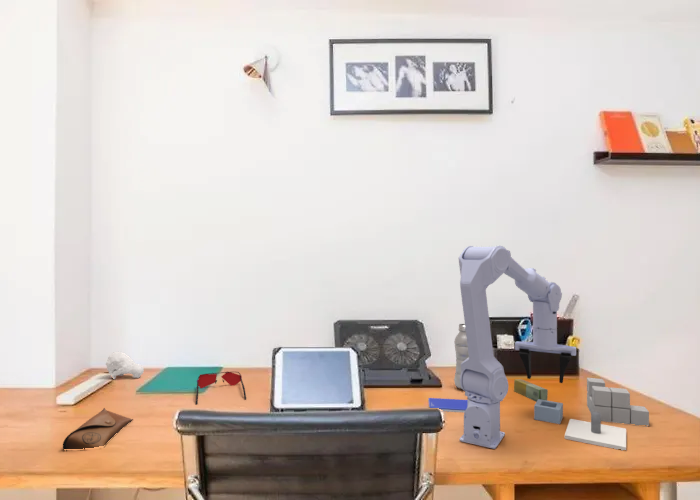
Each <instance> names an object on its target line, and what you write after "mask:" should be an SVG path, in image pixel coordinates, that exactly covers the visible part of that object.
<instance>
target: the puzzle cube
mask: <svg viewBox="0 0 700 500" xmlns="http://www.w3.org/2000/svg"><path fill="white" fill-rule="evenodd" d="M586 391H587V392H586V406H587V408H588V410H589V413H590V414H591V412H593V411H594V412H599V413H601V422H606V423H613V424H622V423H624V424H623V425H631V424H635V425H634V426H639V425H646V426H645V427H648V426H649V427H650V411H649V409H647V408H646V407H645V406H640V405H631V393H630V392H629V391H628V389H627V388H620V387H619V388H618V387H609V386H606V382H605V380H604V379H603V378H594V377H586ZM647 425H648V426H647Z"/></svg>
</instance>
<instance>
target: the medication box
mask: <svg viewBox="0 0 700 500" xmlns="http://www.w3.org/2000/svg"><path fill="white" fill-rule="evenodd" d="M548 391H549V390H548V389H547V388H544V387H541V386H539V385H537V384H534V383H533V382H531V381H530V382H529V381H527V380H525V379H522V378H518V379H517V378H515V379H514V380H513V392H514V393H517V394H519V395H520V396H522V397H525V398H528V399H529V400H531V401H534V402H535V403H536V402H537V400H538V399H540V400H546V401H548V393H549V392H548Z"/></svg>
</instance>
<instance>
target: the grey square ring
mask: <svg viewBox="0 0 700 500" xmlns="http://www.w3.org/2000/svg"><path fill="white" fill-rule="evenodd" d="M533 407H534V408H533V414H534V415H533V419H534V420H536V421H540V422H546V423H551V424H552V423H553V424H557V425H561V422H562V420H563V418H564V403H563V402H559V401H557V402H556V401H552V400H547V401H546V400H540V399H538V400H537V402H535V404H534V406H533Z"/></svg>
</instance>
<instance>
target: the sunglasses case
mask: <svg viewBox="0 0 700 500" xmlns="http://www.w3.org/2000/svg"><path fill="white" fill-rule="evenodd" d="M132 420H133V421H134V419H133V418H130V417H127V416H123V415H121V414H118V413H116V412H112V411H110V410H107V409H106V408H105V407H104V408H103V409H101V411H99V412H98V413H97V414H94V415H93V416H92V417H90V418H89V419H88V420H86V422H84V423H83V424H81V425H80V426H79V427H77V428H76V429H75V430H73V431H71V432H70V433H69V434H68V435H67V436H66V437H65V438H64V441H63V442H62V449H63V450H64V449H83V448H84V449H85V448H94V447H99V446H104V445H105V444H106V443H107V442H108V441H109V440H110V439H111V438H112V437H113V436H114V435H115V434H116V433H117V434H118V433H120V430H121V429H122V428H123V427H124V428H125V427H127V424H128V423H129V422H130V423H132V422H133V421H132ZM131 421H132V422H131ZM130 423H129V424H130ZM129 424H128V425H129ZM124 428H123V429H124ZM123 429H122V430H123ZM117 434H116V435H117ZM116 435H115V436H116ZM115 436H114V437H115ZM114 437H113V438H114ZM113 438H112V439H113ZM112 439H111V440H112ZM111 440H110V441H111ZM110 441H109V442H110ZM109 442H108V443H109ZM108 443H107V444H108ZM107 444H106V445H107Z"/></svg>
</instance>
